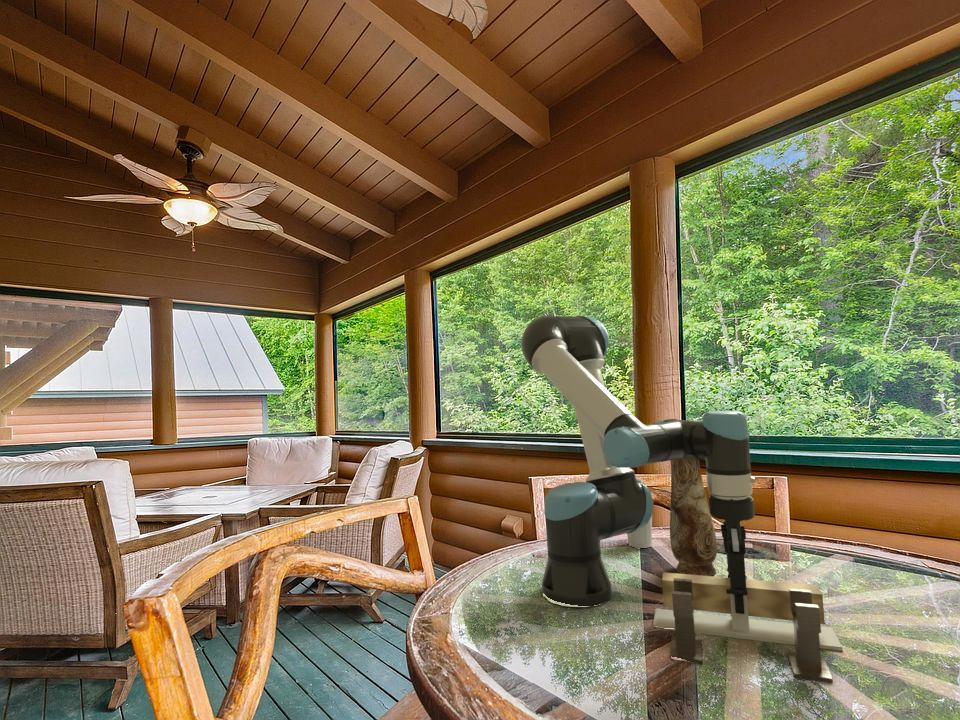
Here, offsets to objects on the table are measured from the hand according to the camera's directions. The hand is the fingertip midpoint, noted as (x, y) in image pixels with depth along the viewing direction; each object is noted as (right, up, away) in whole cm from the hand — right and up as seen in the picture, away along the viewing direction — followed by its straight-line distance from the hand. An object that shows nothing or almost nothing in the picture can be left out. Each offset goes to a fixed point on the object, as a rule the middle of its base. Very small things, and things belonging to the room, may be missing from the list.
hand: (739, 623), depth 96 cm
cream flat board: (0, -1, 0) cm, 1 cm away
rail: (0, +2, 0) cm, 2 cm away
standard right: (+4, 0, -13) cm, 14 cm away
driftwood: (+19, -2, +40) cm, 44 cm away
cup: (-3, -3, +49) cm, 49 cm away
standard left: (-12, -2, -6) cm, 14 cm away
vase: (+3, -2, +29) cm, 29 cm away
